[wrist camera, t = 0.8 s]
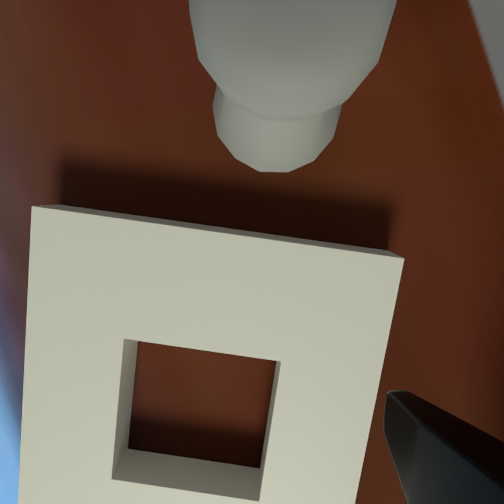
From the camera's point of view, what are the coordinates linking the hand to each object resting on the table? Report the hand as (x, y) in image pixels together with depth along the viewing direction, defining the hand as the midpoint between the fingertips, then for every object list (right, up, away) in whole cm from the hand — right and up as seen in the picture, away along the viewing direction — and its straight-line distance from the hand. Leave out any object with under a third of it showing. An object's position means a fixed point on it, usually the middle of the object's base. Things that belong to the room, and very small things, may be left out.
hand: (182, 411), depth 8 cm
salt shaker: (+3, +10, +12) cm, 16 cm away
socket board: (-1, -5, +14) cm, 15 cm away
